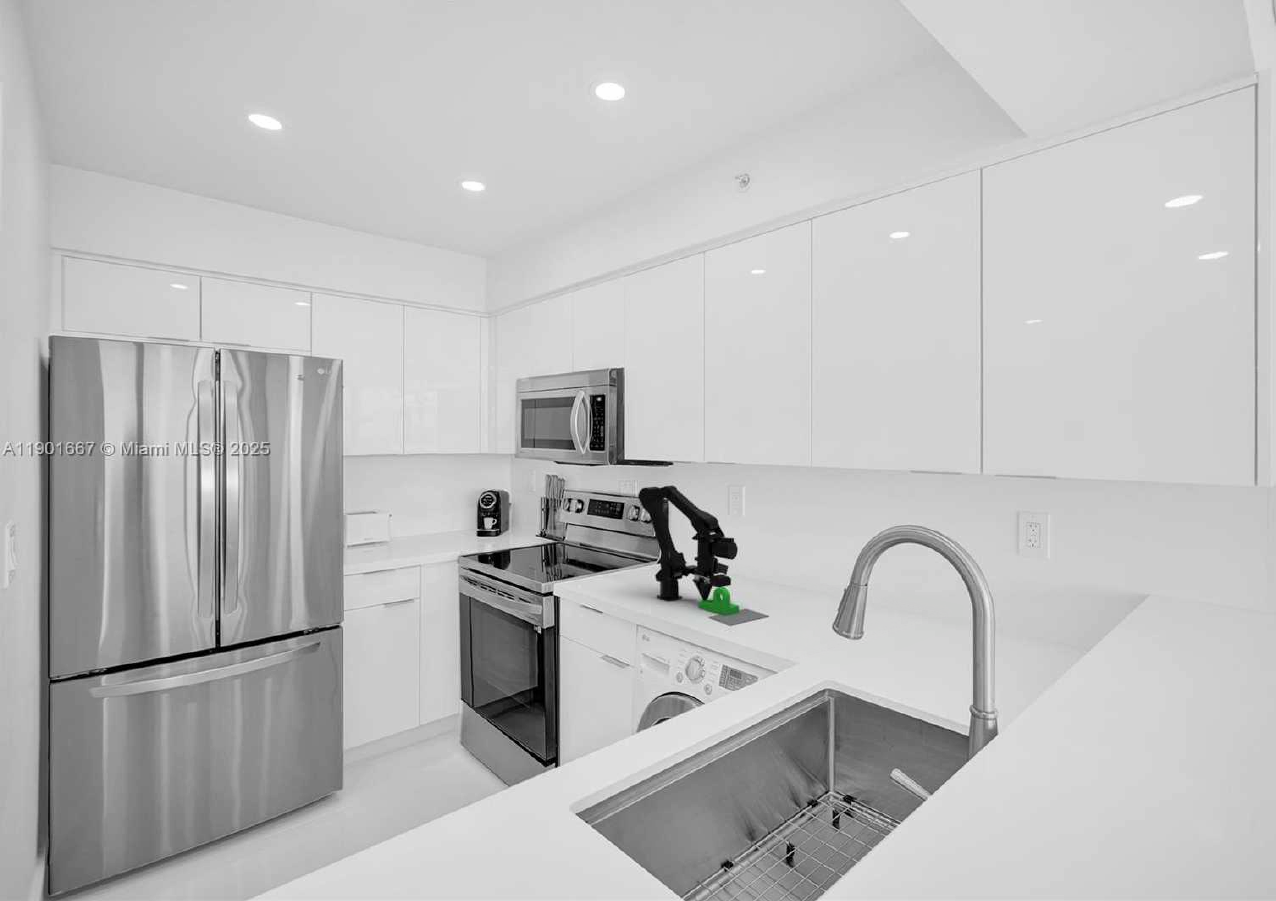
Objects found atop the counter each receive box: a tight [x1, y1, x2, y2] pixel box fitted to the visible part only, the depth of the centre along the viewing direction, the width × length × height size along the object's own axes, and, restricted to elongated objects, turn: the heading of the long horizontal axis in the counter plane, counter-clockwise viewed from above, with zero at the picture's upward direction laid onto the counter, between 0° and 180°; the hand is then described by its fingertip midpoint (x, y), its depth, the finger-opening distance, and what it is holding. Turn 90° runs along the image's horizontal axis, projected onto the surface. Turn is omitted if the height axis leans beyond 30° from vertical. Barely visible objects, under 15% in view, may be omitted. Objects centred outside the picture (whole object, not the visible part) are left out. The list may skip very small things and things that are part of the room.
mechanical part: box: [698, 586, 740, 615], centre depth 198 cm, size 12×6×8 cm, turn 38°
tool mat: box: [708, 608, 769, 627], centre depth 190 cm, size 10×16×1 cm, turn 124°
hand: (705, 601), depth 203 cm, fingers closed
